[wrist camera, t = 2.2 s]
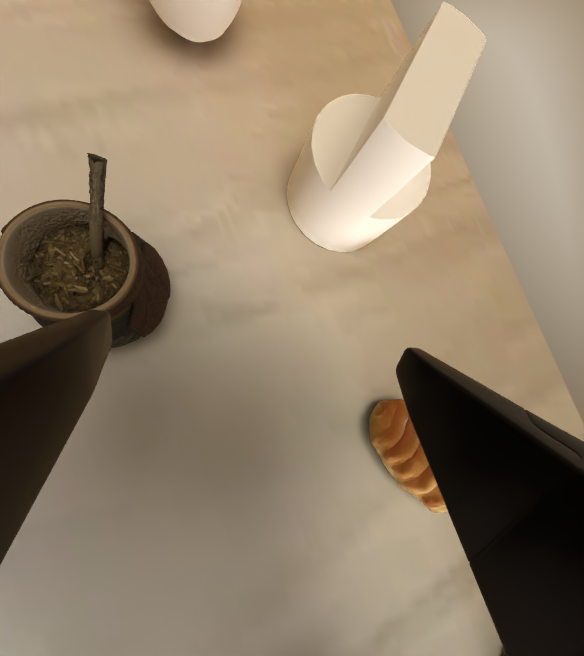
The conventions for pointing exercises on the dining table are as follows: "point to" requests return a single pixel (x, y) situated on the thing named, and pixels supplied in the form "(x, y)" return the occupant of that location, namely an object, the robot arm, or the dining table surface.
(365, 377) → the dining table surface
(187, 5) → the bulb air blower
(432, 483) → the pastry
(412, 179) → the base with upright slab
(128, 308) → the mate gourd
